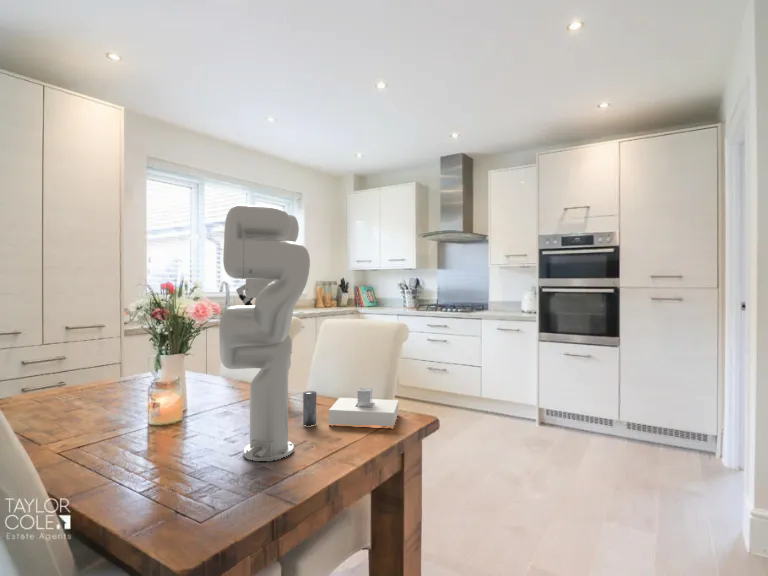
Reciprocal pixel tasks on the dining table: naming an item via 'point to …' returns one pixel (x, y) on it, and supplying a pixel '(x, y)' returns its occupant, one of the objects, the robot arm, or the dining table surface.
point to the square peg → (365, 397)
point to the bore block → (363, 412)
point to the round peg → (309, 408)
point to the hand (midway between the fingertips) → (263, 316)
